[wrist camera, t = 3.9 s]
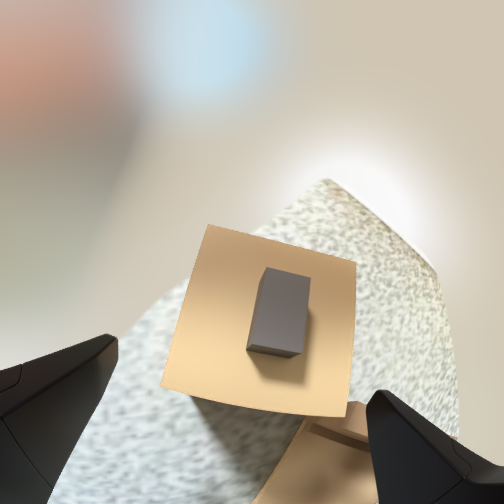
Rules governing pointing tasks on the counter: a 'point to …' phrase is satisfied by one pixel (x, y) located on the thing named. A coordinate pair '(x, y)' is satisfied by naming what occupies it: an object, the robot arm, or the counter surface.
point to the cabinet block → (265, 327)
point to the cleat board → (325, 463)
